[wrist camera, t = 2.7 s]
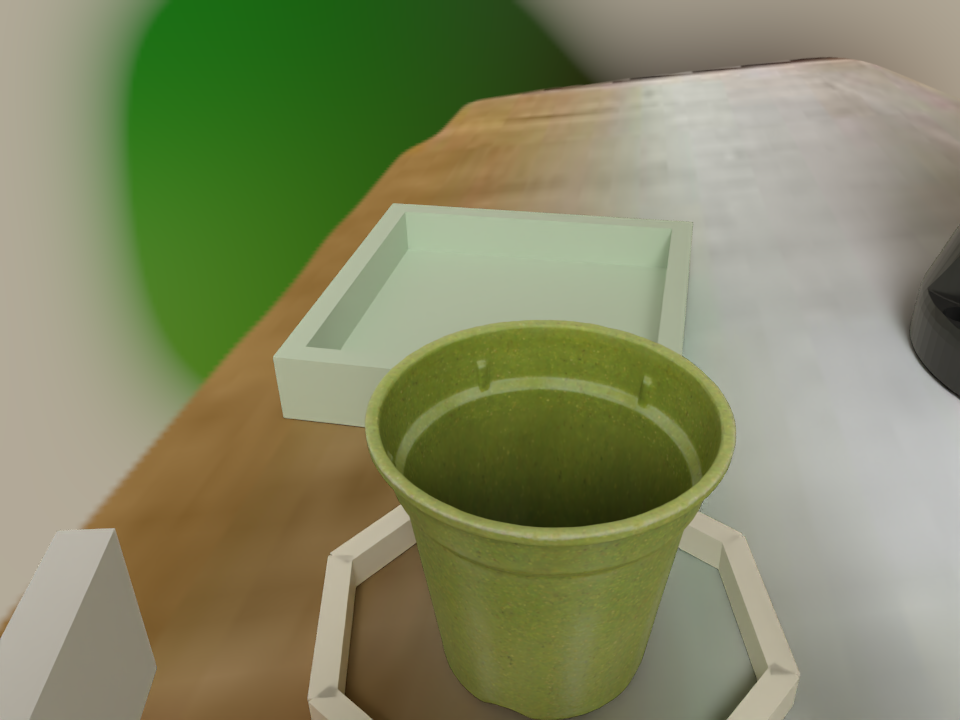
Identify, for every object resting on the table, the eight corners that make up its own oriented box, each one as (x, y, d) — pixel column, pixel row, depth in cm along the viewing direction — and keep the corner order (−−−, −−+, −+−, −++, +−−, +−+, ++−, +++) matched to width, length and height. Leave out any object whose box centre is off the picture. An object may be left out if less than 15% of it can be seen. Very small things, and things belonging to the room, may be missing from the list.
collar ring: (521, 446, 36) (521, 421, 36) (855, 622, 28) (862, 594, 28) (231, 652, 28) (224, 625, 28) (586, 983, 20) (588, 955, 20)
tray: (397, 253, 52) (392, 203, 50) (687, 274, 48) (693, 222, 47) (283, 417, 39) (272, 357, 37) (671, 462, 35) (678, 398, 34)
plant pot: (598, 502, 34) (609, 291, 29) (767, 699, 26) (818, 459, 22) (353, 585, 30) (320, 364, 26) (466, 835, 23) (450, 589, 18)
